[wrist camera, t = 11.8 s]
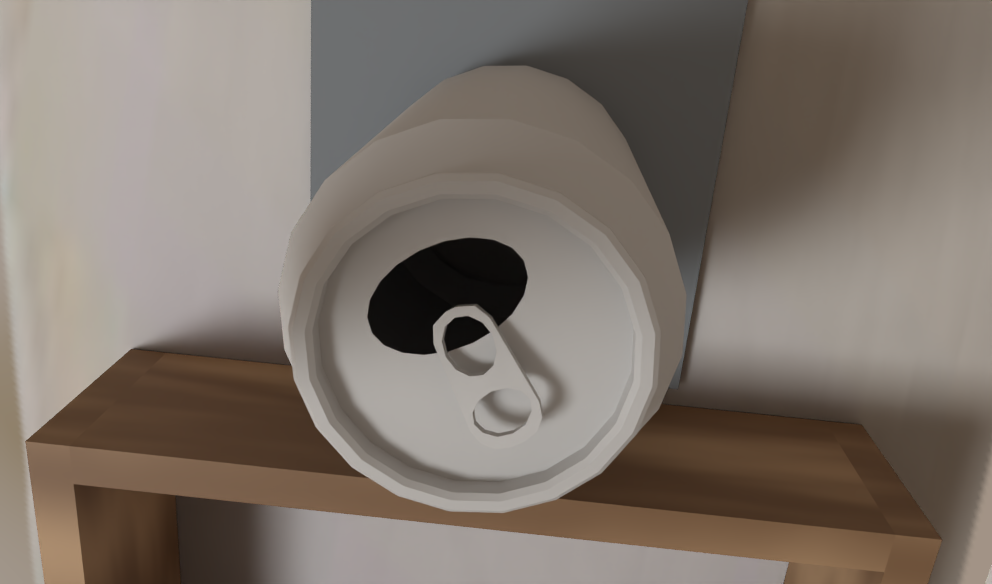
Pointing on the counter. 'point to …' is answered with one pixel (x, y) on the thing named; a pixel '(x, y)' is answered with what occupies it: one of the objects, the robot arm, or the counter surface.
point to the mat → (554, 49)
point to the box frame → (341, 489)
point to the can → (484, 296)
